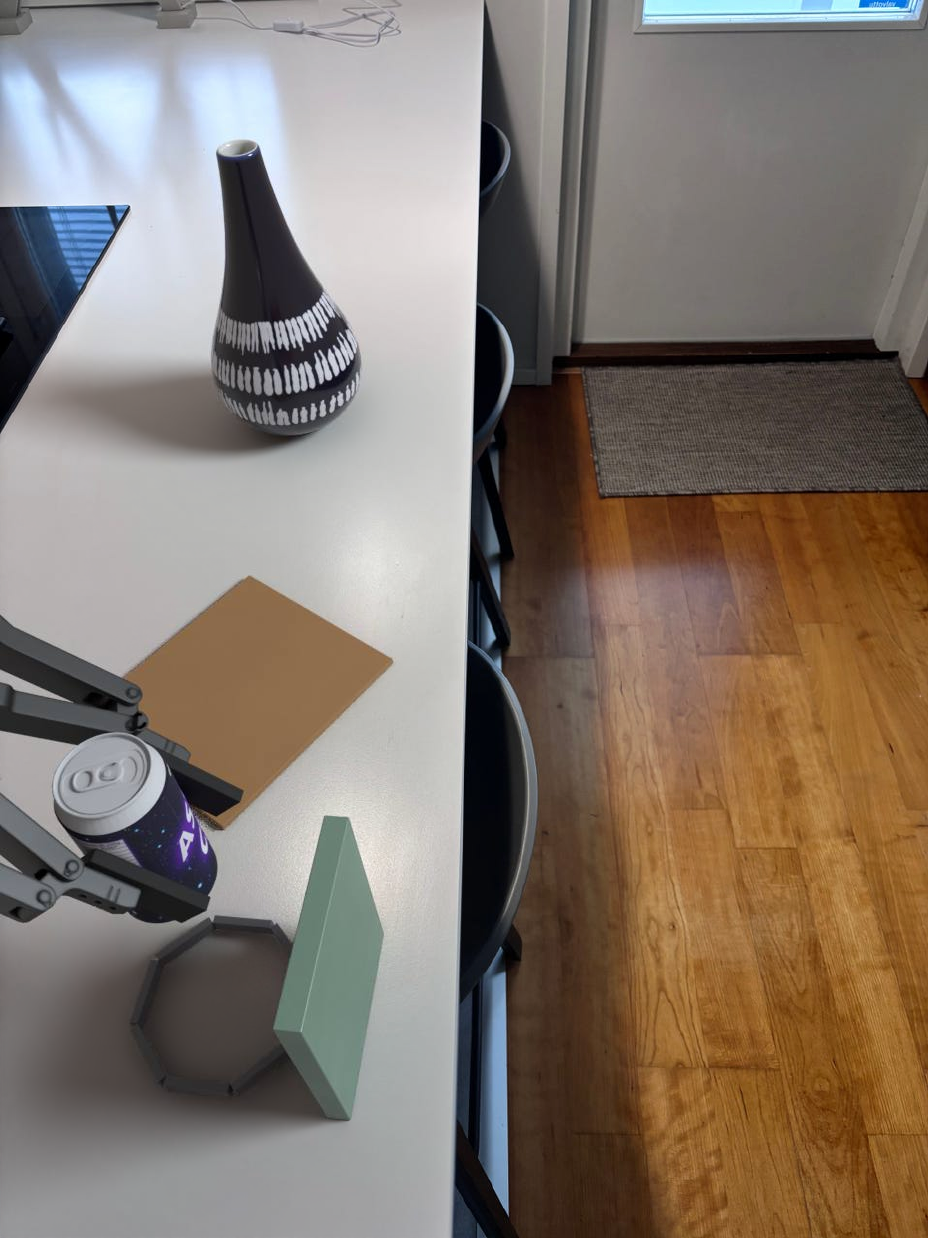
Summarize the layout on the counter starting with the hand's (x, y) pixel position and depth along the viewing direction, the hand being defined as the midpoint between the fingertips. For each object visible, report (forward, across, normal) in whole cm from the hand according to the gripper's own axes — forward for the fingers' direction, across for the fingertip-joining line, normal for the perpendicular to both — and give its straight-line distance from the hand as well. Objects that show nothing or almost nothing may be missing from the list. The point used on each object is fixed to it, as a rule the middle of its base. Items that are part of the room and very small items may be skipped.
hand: (212, 854), depth 52 cm
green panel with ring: (+12, +2, -13) cm, 17 cm away
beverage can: (+1, 0, -6) cm, 6 cm away
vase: (+3, -62, -22) cm, 66 cm away
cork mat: (+6, -24, -19) cm, 31 cm away
